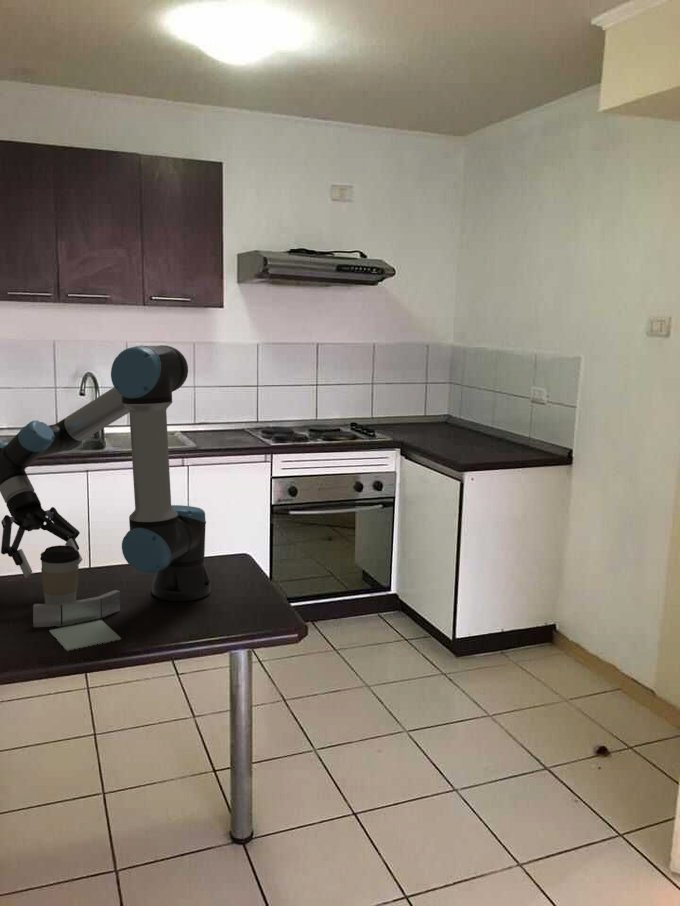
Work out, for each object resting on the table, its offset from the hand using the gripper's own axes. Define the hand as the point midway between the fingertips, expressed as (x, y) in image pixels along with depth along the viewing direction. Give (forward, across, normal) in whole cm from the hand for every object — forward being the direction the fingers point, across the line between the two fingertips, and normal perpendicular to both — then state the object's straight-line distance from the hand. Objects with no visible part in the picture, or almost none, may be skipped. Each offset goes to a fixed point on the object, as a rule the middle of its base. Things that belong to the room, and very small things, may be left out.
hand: (54, 568), depth 188 cm
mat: (+21, +6, +8) cm, 23 cm away
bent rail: (+15, +1, +2) cm, 15 cm away
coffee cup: (+8, 0, -6) cm, 10 cm away
